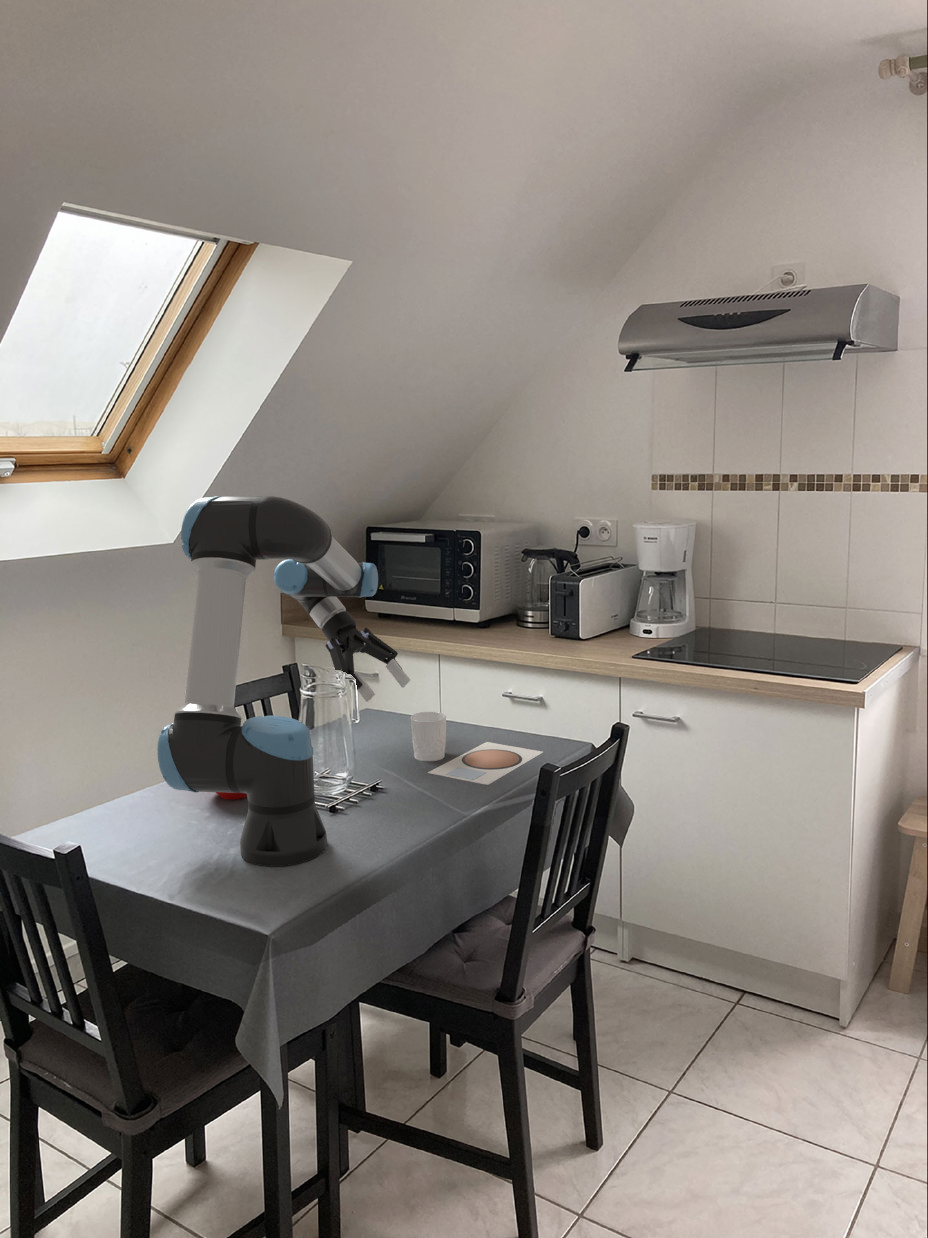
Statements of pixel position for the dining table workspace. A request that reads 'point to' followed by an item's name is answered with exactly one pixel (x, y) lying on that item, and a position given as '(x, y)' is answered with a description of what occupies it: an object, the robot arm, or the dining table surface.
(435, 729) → the white cup
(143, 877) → the dining table surface
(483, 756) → the circle mark
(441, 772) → the white flat rectangular sheet
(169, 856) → the dining table surface
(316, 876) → the dining table surface
